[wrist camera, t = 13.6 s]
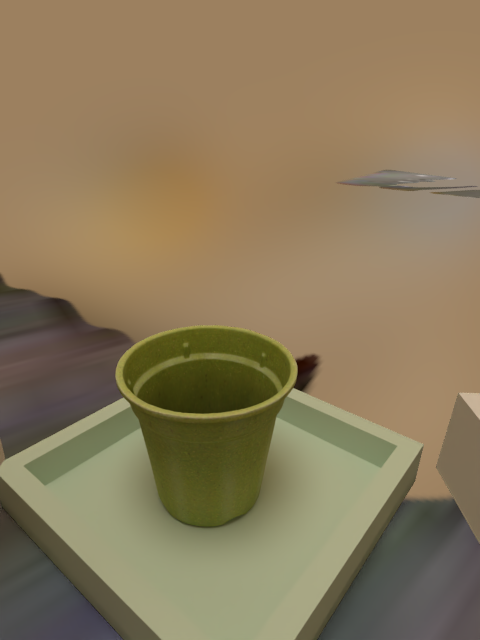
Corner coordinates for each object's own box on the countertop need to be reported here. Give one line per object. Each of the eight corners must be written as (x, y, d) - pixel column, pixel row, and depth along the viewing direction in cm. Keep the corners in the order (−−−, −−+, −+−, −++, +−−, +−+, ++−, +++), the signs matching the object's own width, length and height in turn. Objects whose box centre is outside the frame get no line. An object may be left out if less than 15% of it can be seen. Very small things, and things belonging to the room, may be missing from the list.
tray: (2, 506, 26) (-9, 467, 25) (209, 382, 39) (209, 352, 38) (239, 765, 16) (241, 720, 15) (414, 481, 29) (423, 444, 28)
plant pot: (99, 537, 24) (78, 400, 20) (162, 427, 32) (156, 317, 28) (274, 574, 22) (286, 432, 18) (293, 447, 30) (304, 333, 27)
